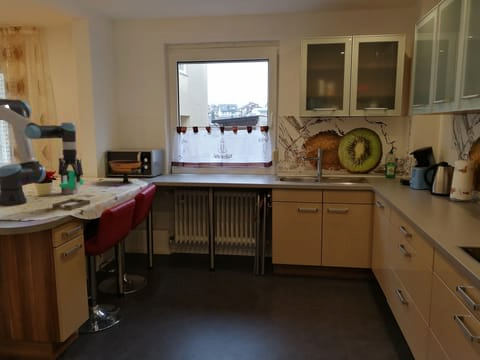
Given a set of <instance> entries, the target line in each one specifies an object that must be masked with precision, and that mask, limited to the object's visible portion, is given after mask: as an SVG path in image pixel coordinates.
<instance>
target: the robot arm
mask: <svg viewBox="0 0 480 360" xmlns="http://www.w3.org/2000/svg"><path fill="white" fill-rule="evenodd" d="M31 116H32V109H31V107H30V104H29V103H28V102H27V101H25V100H22V99H13V98H0V121H4V122H6V123H7V124H10V125H11V127H12V131H13V135H14V139H15V143H16V146H17V152H18V156H19V160H20V161H19V163H13V164H7V165H5V164H4V165H3V166H2V165H1V166H0V206H2V207H3V206H5V207H6V206H7V207H8V206H18V205H23V204H26V203H27V201H28V200H27V197H26V196H25V193H24V190H23V189H24V188H23V185H29V184H30V185H31V184H37V183H41V182H42V181H44V179H45V177H46V173H47V172H46V171H47V170H46V167H45V166H44V165H43V164H42V163H40V160H38V159H37V158H36V154H35V151H34V146H33V141H32V140H40V139H61V143H62V144H61V145H62V146H61V147H62V155H63V157H61V158H60V157H59V158H58V162H59V163H58V175H59V176H60V177H61V176H62V181H63V183H66V182H67V175H66V172H67V170H68V168H69V166H70V167H72V171H75V175H76V176H75V188H77V187H78V188H80V185H79V182H80V177H81V176H83V175H84V173H83V167H82V159H81V158H78V157H77V155H78V153H77V134H76V124H75V123H74V122H60V124H61V125H53V124H52V125H44V124H43V125H42V124H41V125H39V124H37V123H35V122H33V121H32V120H30V117H31Z"/></svg>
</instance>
